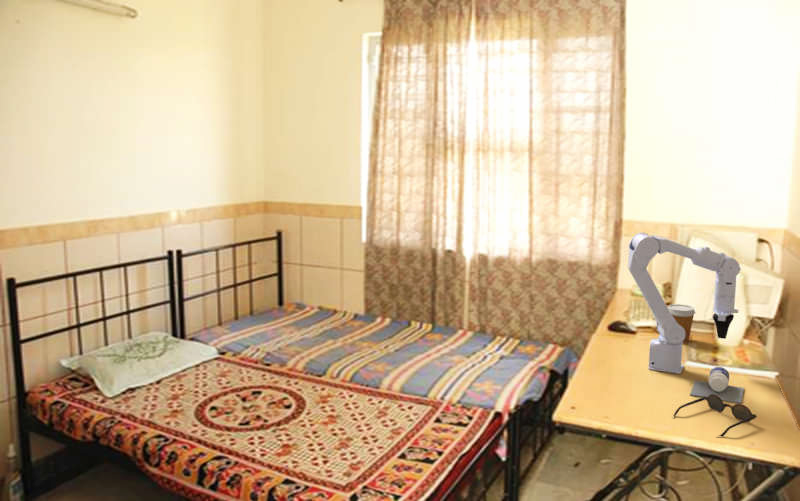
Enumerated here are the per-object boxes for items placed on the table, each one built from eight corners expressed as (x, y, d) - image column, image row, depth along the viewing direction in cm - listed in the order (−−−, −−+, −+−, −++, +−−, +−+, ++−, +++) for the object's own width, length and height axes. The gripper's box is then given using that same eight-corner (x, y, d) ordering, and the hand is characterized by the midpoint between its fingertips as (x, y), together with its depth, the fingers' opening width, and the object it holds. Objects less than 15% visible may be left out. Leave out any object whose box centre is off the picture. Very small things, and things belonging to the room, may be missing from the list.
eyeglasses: (755, 426, 169) (757, 408, 168) (719, 441, 161) (720, 421, 160) (704, 406, 181) (705, 389, 180) (668, 419, 174) (669, 401, 173)
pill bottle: (731, 381, 194) (730, 392, 186) (712, 384, 196) (711, 395, 188) (726, 364, 193) (724, 374, 186) (707, 367, 196) (705, 377, 188)
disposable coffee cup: (697, 344, 232) (700, 310, 230) (670, 344, 232) (672, 311, 230) (686, 335, 241) (688, 303, 239) (660, 336, 242) (662, 304, 239)
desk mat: (690, 395, 188) (690, 394, 188) (694, 381, 198) (695, 380, 198) (741, 404, 181) (741, 402, 181) (743, 389, 192) (743, 387, 192)
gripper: (737, 301, 195) (734, 346, 197) (740, 291, 207) (737, 333, 210) (711, 299, 198) (708, 342, 201) (715, 289, 211) (713, 330, 213)
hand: (721, 337), depth 205 cm, fingers closed
